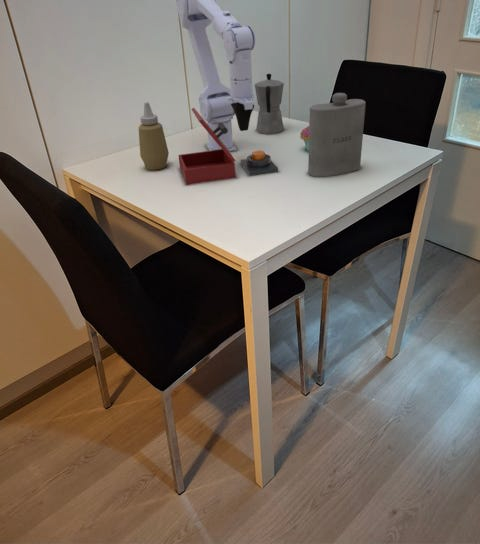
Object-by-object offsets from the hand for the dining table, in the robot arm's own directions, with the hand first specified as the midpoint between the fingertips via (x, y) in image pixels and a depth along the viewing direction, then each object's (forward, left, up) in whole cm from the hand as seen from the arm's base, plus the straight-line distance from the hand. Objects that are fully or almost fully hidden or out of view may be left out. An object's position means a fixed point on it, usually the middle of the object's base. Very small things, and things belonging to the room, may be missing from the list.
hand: (243, 129), depth 134 cm
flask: (+16, +21, -10) cm, 28 cm away
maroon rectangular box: (+4, -12, -9) cm, 16 cm away
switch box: (+6, +3, -9) cm, 11 cm away
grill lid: (+4, -10, +1) cm, 10 cm away
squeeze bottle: (-6, -25, -10) cm, 28 cm away
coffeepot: (-25, +15, -10) cm, 31 cm away
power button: (+5, +2, -7) cm, 9 cm away
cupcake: (-2, +22, -10) cm, 24 cm away
